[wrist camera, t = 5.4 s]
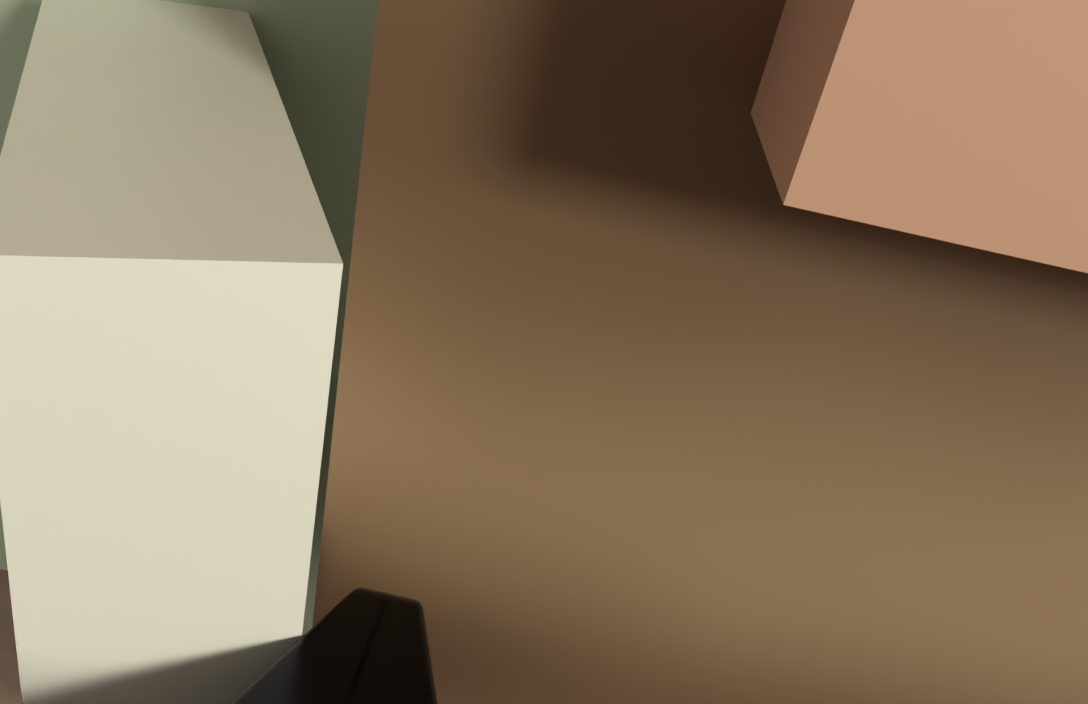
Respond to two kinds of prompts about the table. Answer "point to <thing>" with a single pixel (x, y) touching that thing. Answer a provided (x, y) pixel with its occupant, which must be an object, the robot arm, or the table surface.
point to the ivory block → (158, 357)
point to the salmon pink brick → (935, 119)
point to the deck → (685, 390)
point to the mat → (316, 119)
